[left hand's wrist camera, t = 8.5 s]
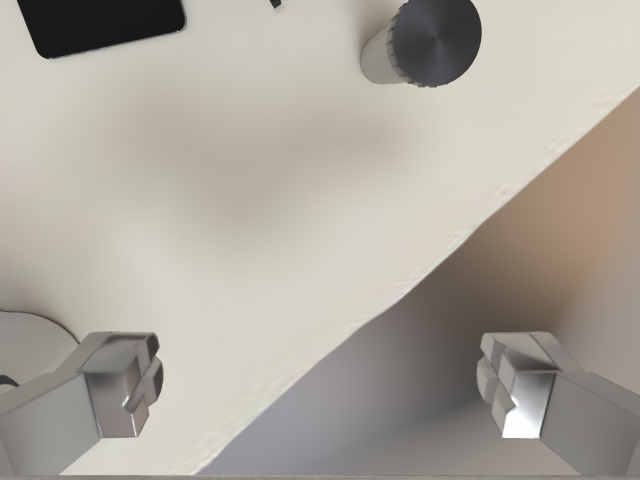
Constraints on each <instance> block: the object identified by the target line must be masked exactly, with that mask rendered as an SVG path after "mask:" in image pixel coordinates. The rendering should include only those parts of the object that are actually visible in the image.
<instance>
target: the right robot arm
mask: <svg viewBox="0 0 640 480" xmlns="http://www.w3.org/2000/svg"><path fill="white" fill-rule="evenodd" d="M270 2H271V4H272V5H273V7H274V9H275V8H276V7H277V6H279V5H280V4H282V3H281V0H270Z"/></svg>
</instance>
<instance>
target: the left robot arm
mask: <svg viewBox="0 0 640 480" xmlns="http://www.w3.org/2000/svg"><path fill="white" fill-rule="evenodd" d="M158 349H159V342H158V337H157V335H156V334H155V333H154V332H112V331H109V332H92V333H89V334H88V335H87V336H86V338H85V339H84V340H83V341H82V342H81V343H80V344H78V343H77V342H76V340H75V339H74V338H73V337H72V336H71V335H70V334H69V333H68V332H67V331H66V330H64V329H63V328H62V327H60V326H59V325H57V324H55V323H54V322H52V321H50V320H48V319H45V318H43V317H40V316H37V315H33V314H28V313H19V312H2V311H0V480H640V395H638V394H636V393H634V392H632V391H630V390H628V389H626V388H624V387H622V386H620V385H618V384H615V383H613V382H611V381H609V380H607V379H605V378H603V377H601V376H599V375H597V374H595V373H586V372H585V370H584V369H583V368H582V367H581V366H580V365H579V364H578V363H577V362H576V361H575V360H574V358H573V357H572V356H571V355H570V354H569V353H568V352H567V351H566V350H565V349H564V347H563V346H562V345H561V344H560V343H559V342H558V341H557V340H556V339H555V338H554V336H553V335H552V334H551V333H548V332H546V331H539V332H514V333H485V334H484V335H483V337H482V341H481V349H482V351H483V353H484V354H485V356H484V357H483V358H482V359H481V360H480V361H479V362H478V366H477V373H476V374H477V385H478V388H479V392H480V395H481V397H482V399H483V401H484V402H486V403H487V404H489V405H490V406H491V407H492V411H491V417H492V419H493V420H494V422H495V424H496V426H497V428H498V430H499V432H500V434H501V436H502V437H511V438H540V441H541V442H543V443H544V444H545V445H546V446H548V447H549V448H550V449H551V450H552V451H553V452H555V453H556V454H557V455H558V456H560V457H561V458H562V459H563V460H565V461H566V462H567V463H568V464H569V465H570V466H572V467H573V468H574V469H575V470H576V471H578V472H579V473H580V474H581V475H347V476H346V475H340V476H339V475H337V476H336V475H335V476H334V475H328V476H327V475H324V476H323V475H319V476H318V475H316V476H315V475H59V474H60V473H61V472H62V471H64V470H65V469H66V468H67V467H68V466H70V465H71V464H72V463H73V462H75V461H76V460H77V459H78V458H79V457H81V456H82V455H83V454H84V453H85V452H87V451H88V450H89V449H90V448H92V447H93V446H94V445H95V444H96V443H98V442H99V441H100V438H128V437H138V436H139V434H140V432H141V430H142V428H143V426H144V424H145V422H146V421H147V419H148V417H149V411H148V407H149V406H150V405H151V404H153V403H154V402H156V401H157V399H158V397H159V395H160V392H161V388H162V384H163V365H162V362H161V361H160V360H159V359H158V358H157V357H156V356H155V354H156V353H157V351H158Z"/></svg>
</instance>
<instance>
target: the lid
mask: <svg viewBox="0 0 640 480" xmlns="http://www.w3.org/2000/svg"><path fill="white" fill-rule="evenodd" d="M391 20H392V22H391V24H390V27H389V29H388V30H387V32H388V34H387V42H386V43H385V45H386V47H387V55H388V56H387V58H389V61H390V64H391V66H392V67H391V68H392V69H394V71H395V72H396V73H397V74H398V75H399V76H398V77H399V78H402V79H403V80H405V81H406V82H408V83H407V84H413V85H417V86H418V87H425V86H429V87H437V86H440V85H444V84H449V83H450V82H452V81H454V80H456V79H457V78H459V77H460V76H461V75H462V74H464V73H465V72H466V71H467V70H468V68H469V67H470V66H471V64H472V63H473V61H474V60H475V58H476V55H477V53H478V50H479V47H480V43H481V36H482V28H481V21H480V17H479V14H478V12H477V10H476V8H475V6H474V4H473V3H472V2H471V1H470V0H409V1H408V2H407V3H404V4H403V5H402V6H401V7H400V8H399V11H398V12H397V14H396V15H395V16H394V17H393V18H392V19H391Z"/></svg>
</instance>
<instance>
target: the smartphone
mask: <svg viewBox="0 0 640 480" xmlns="http://www.w3.org/2000/svg"><path fill="white" fill-rule="evenodd" d="M17 2H18V5H19V7H20V10H21V12H22V15H23V17H24V20H25V22H26V25H27V28H28V30H29V33H30V35H31V38H32V40H33V43H34V45H35V48H36V50H37V52H38V53H39V55H41V56H42V57H44V58H46V59H57V58H61V57H67V56H71V55H75V54H81V53H86V52H89V51H95V50H100V49H103V48H108V47H113V46H117V45H122V44H127V43H131V42H136V41H141V40H145V39H150V38H155V37H159V36H164V35H169V34H173V33H178V32H181V31H182V30H183V29H184V28H185V26H186V16H185V12H184V9H183V5H182V1H181V0H17Z"/></svg>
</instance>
